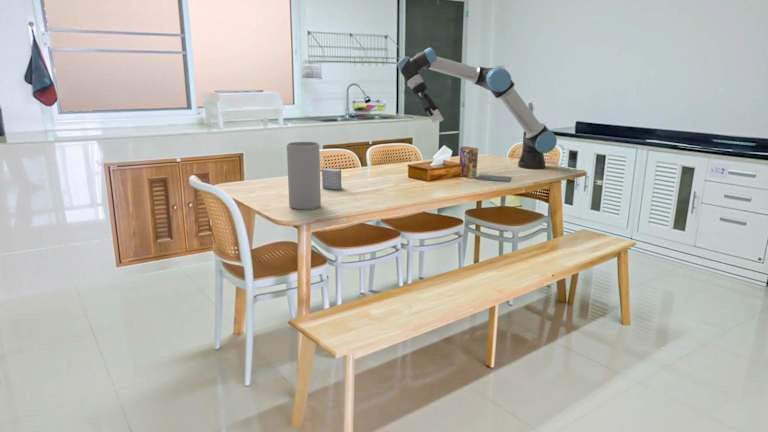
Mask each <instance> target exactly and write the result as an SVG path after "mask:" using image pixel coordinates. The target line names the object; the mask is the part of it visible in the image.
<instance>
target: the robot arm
mask: <svg viewBox="0 0 768 432" xmlns="http://www.w3.org/2000/svg"><path fill="white" fill-rule="evenodd" d="M396 66H397V68H398V69H399V71H400V74H401V75H402V77H403V78H404V80H405V81H406V83H407V87H409V88H410V89H411V91H412V93H413V95H414V96H415V97H416V96H417V97H418V99H419V101H420V102H421V105H422V107H423V110H424V112H425V113H427V115H428V116H429V118H430V119H431V121H432V122H433V123H436V122H438V123H441V122H442V121H444V120H445V119H444V117H443V116H442V113H441V112H440V111H439V106H437V104H436V103H435V102H434V100H433V99H432V98H431V96H430V95H429V93H428V92H426V91H427V89H428V87H427V84H426V83H425V82H424V79H423V77H422V76H421V74H420V73H419V72H421V71H422V70H424V69H428V70H431V71H433V72H434V71H435V72H437V73H440V74H445V75H449V76H452V77H456V78H458V79H462V80H465V81H469V82H471V83H472V84H473V85H476V86H479V87H481V88H483V89H486V90H488V91H490V92H491V94H492V95H493V96H494V97H495V98H496V99H500V101H501V102H502V103H503V105H505V106H506V108H507V110H508V111H509V112H510V114H511V115H512V116H513V117H514V119H515V120H516V122H517V123H518V124H519V126H520V127H521V128H522V129H523V138H522V140H523V141H522V150H521V155H520V158H519V160H518V163H517V166H518V167H519V168H524V169H532V170H533V169H534V170H538V169H544V168H546V159H545V156H544V154H548V153H551V152H552V151H553V150H554V149H555V148H556V147H557V143H558V142H557V141H558V140H557V136H556V134H554V133H553V131H551V130H549V128H548V127H547V126H546V124H545V123H543V122H540V121H539V120H538V118H537V117H536V116H535V114H534V113H533V112H532V111H531V109H530V108H529V106H528V105H527V104H526V102H525V101H524V100H523V98H522V97H521V95H519V92H517V90H516V89H515V82H514V81H513V80H512V77H511V74H510V72H509V70H507V69H505V68H502V67H483V66H480V65H478V66H477V67H475V66H471V65H468V64H466V63H462V62H457V61H455V60H451V59H448V58H444V57H441V56H437V54H436V52H435V50H434V49H433V48H432V47H428V48H426V49H424V50H422V51H418V52H416V53H415V55H414V56H413V57H410V56H408V55H407V56H404V57H402V58H401V59H400V60H398V61H397V65H396Z"/></svg>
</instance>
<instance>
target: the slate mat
mask: <svg viewBox="0 0 768 432" xmlns="http://www.w3.org/2000/svg"><path fill="white" fill-rule="evenodd" d="M511 179H512V176H506V175H495V174H494V175H493V174H492V175H491V174H490V175H489V174H479V175H478V177H476V180H477V181H478V180H479V181H489V182H490V181H491V182H492V181H493V182H503V183H504V182H505V183H509V182H510V181H511Z"/></svg>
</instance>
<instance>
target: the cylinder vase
mask: <svg viewBox="0 0 768 432" xmlns="http://www.w3.org/2000/svg"><path fill="white" fill-rule="evenodd" d="M286 159H287V161H286V162H287V181H288V182H287V183H288V204H289V207H290V208H292V209H293V208H295V209H294V210H299V209H308V210H313V209H312V208H315V209H317V208H319V207H321V205H322V204H321V203H322V200H321V196H322V195H321V165H320V164H321V163H320V160H321V157H320V143H319V142H313V141H295V142H294V141H293V142H288V143H286Z"/></svg>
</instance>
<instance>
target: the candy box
mask: <svg viewBox="0 0 768 432" xmlns="http://www.w3.org/2000/svg"><path fill="white" fill-rule="evenodd" d="M459 150H460V151H459V165H460V164H461V165H462V169H461V175H460V176H459V177H463V178H469V179H477V171H478V170H477V169H478V160H479V159H478V157H479V148H477V147H472V146H465V145H464V146H460V147H459Z"/></svg>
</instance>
